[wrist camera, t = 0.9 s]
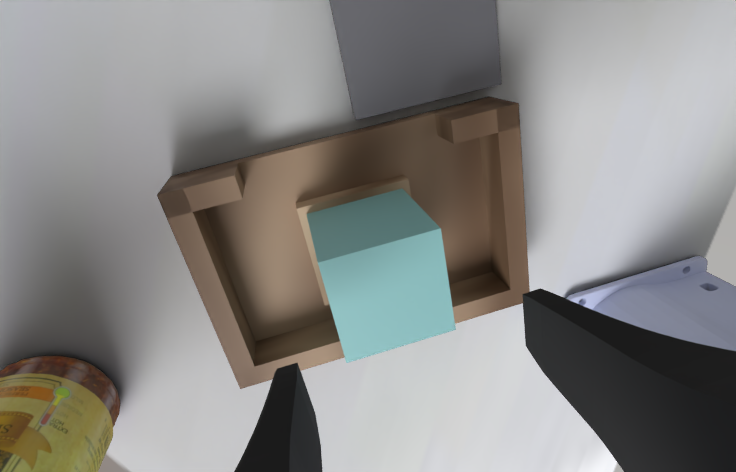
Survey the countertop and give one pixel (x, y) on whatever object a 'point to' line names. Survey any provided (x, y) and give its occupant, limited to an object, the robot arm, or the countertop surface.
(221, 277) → the parts box
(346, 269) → the teal block
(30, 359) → the sauce bottle
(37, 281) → the countertop surface
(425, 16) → the rubber mat
